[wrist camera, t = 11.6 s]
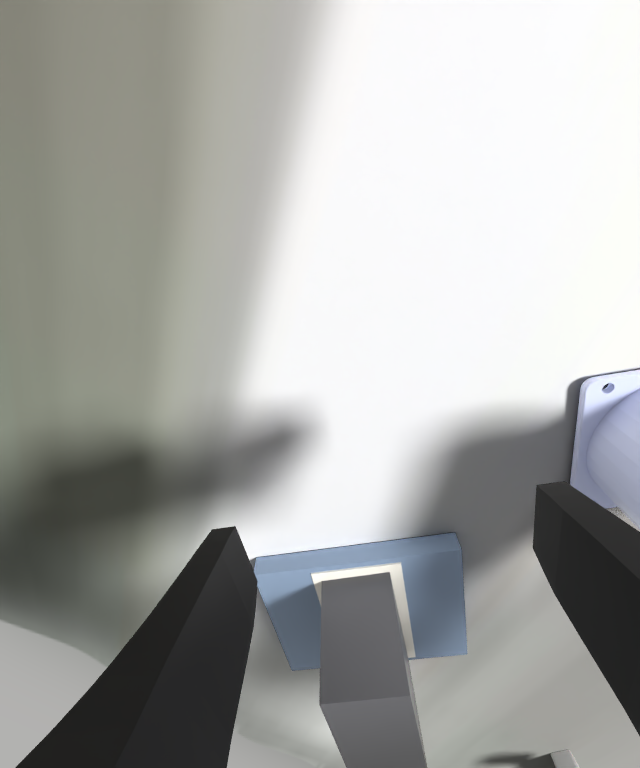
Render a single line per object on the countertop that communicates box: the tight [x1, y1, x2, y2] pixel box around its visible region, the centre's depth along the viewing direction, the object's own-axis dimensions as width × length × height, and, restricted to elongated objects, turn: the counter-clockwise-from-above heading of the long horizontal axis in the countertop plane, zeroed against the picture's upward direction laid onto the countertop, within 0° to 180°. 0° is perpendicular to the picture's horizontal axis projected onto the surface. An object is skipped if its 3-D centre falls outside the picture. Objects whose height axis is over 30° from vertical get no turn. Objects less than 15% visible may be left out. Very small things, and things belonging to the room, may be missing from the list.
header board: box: [254, 533, 467, 671], centre depth 23 cm, size 12×10×4 cm
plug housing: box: [320, 572, 427, 768], centre depth 21 cm, size 4×8×6 cm, turn 13°
